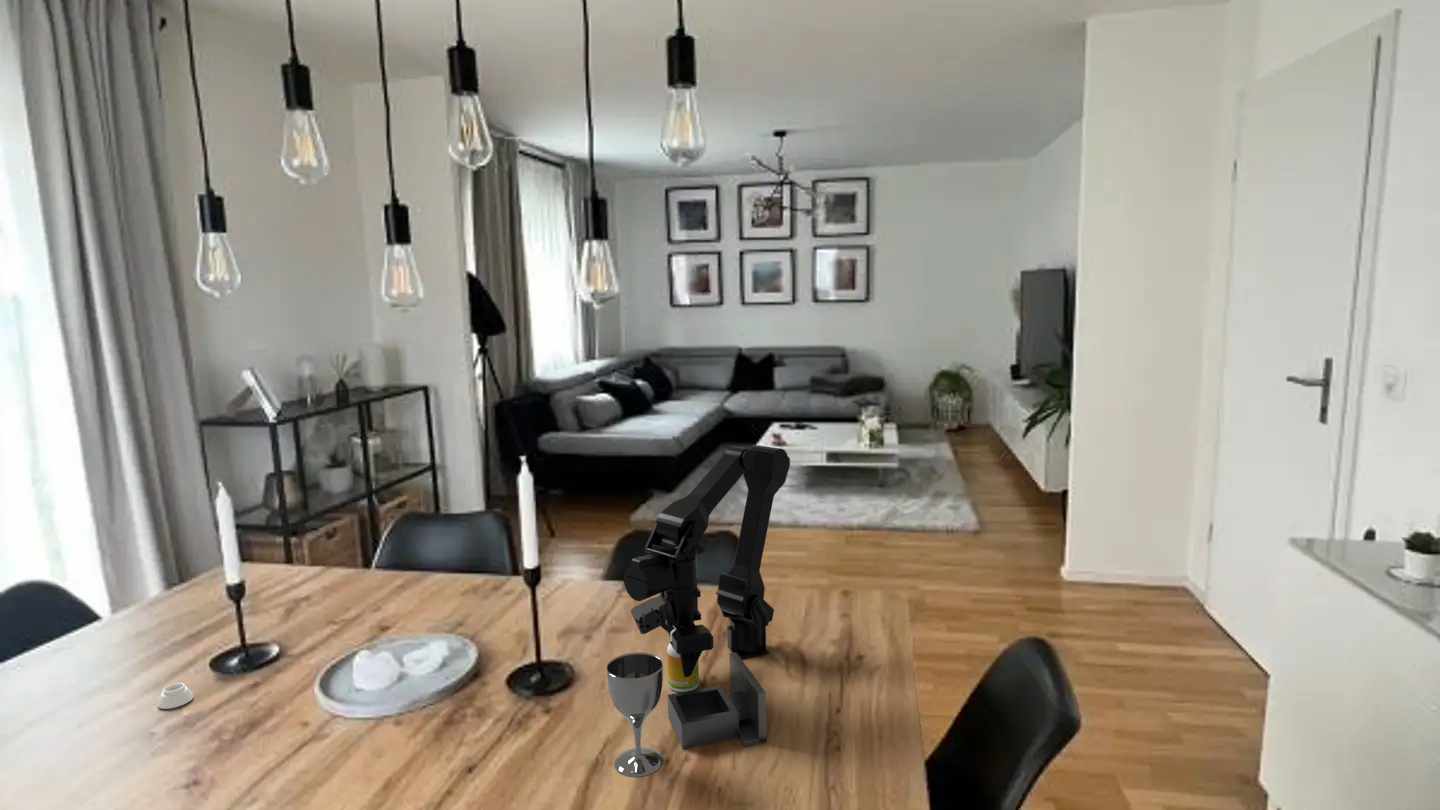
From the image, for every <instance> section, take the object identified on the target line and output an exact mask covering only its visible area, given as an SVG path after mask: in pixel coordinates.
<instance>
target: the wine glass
mask: <svg viewBox="0 0 1440 810" xmlns="http://www.w3.org/2000/svg"><path fill="white" fill-rule="evenodd" d="M663 666H664V665H663V660H662V659H661V658H660V657H659V656H657V655H655V654H653V653H648V652H629V653H624V654H621V655H618V656H616V657H614V658H613V659H611V660H610V661H609V662H608V663H607V665H606V679H607V688H608V692H609V696H610V700H611V702H612V704H613V707H614V708H615V709H616V711H617V712H618V713H620V714H621V715H622V716H623V718H626V720H628V721H629V723H630V725H631V726H632V729H633V736H634V743H635V747H634V748H629V749H627V750H625V751H623V752H621V753H620V754H619V755H617V757H616V758H615V760H614V763H613V764H614V769H615V770H616V771H617V772H618V773H619V774H620V775H622V776H625V777H631V778H639V777H645V776H649V775H651V774H654V773H655V772H657V771H658V770H659V769H661V767H662V766H663V764H664V757H663V754H661V753H660V752H659V751H658V750H656V749H654V748H651V747H642V745H641V743H642V742H641V740H642V727H643V725H644V722H645V720H646V719H647V718H648V716H650V714H651V713H653V712H652V711H654V709H655V708H656V707H657V705H659V701H660V699H661V695H662V690H663V681H664V667H663Z"/></svg>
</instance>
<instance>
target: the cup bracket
mask: <svg viewBox="0 0 1440 810" xmlns="http://www.w3.org/2000/svg"><path fill="white" fill-rule="evenodd" d="M729 685H730V686H729V690H730V691H729V693H727V692H726V691H725V689H724V687H723V686H722V685H715V686H711V687H710V686H709V687H705V688H699V689H694V690H692V691H686V692H675V693H670V694H667V712H668V716H667V717H668V721H669V722H670V724H671V727H672V729H673V732H674V733H675V735H676V738H677V739H678V743H679V744H680V747H681V748H682V750H683V749H689V748H694V747H699V746H702V745H709V744H713V743H717V742H723V741H728V740H734V739H739V741H740V742H741V744H742V746H743V747H749V746H754V745H758V744H759V745H760V744H764V743H767V693H766V691H765V689H764V688H763V686H762V685H761V684H760V682H759V681H758V680H757V679H756V678H755V676H754V674H753V673H752V671H750V669H749V667H748V666H747V665H746V663H745V662H744V660H743V658H740V657H739V655H738V654H737V653H736V652H735V653H733V652H731V653H729Z"/></svg>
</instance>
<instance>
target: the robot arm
mask: <svg viewBox="0 0 1440 810" xmlns="http://www.w3.org/2000/svg"><path fill="white" fill-rule="evenodd" d="M722 454H723V455H722V456H721V457H720V459H719V460H718V461H717V462H716V463H715V464H714V465H713V466H712V467H711V469H710V470H709V471H708V472H707V473H706V474H705V476H704V477H702V479H701V480H700V481H699V483H698V484H697V485H696V486H695V487H694V488H693V489H692V490H691V492H690V493H689V494H687V495H686V496H684V497H683V498H680V499H678V500H675V501H673V502H672V503H670V504H669V505H668V506H667V507H666V508H665V509H663V510H662V511H661V512H660V513H659V514H658V516H657V518H656V520H655V524H654V526H653V529H652V530H651V533H650V535H649V538H648V540H647V542H646V545H645V547H644V548H643V551H644V552H645V553H649V554H646V555H643V556H637V557H633V558H632V559H631V566H629V567H628V568H626V570H625V572H624V576H623V585H624V587H625V590H626V592H627V594H628V596H630V598H631V599H632V600H634V601H636V602H641V603H639V604H637V605H635V606H633V607H632V608H631V609H630V614H631V615H632V618H633V620H634V622H635V625H636V626H637V628H638V631H639V632H640V634H641V635H645V634H648V633H650V632H652V631H654V630H656V629H657V628H660V627H661V628H663V630H664V631H666V632H667V635H668V637H669V640H670V641H669V644H671V645H672V647H673V649H674V650H675V651H676V653H677V654H679V655H680V660H681V665H682V669H683V674H684V677H689V676H691V674H692V672H693V670H694V668H695V665H696V663H697V661H698V662H699V659H700V656H701V655H702V653H703V651H710V650H713V648H715V647H714V646H715V645H714V644H715V643H714V635H712V632H711V631H710V630H709V629H708V628H707V627H706V626H705V625H704V624H695V622H696V621H702V613H701V612H700V611H699V601H698V600H699V599H698V598H701V597H702V596H701V590H700V588H699V587H698V565H697V564H698V563H697V562H698V561H697V556H698V555H700V554H703V553H705V552H706V548H705V547H704V546H702V545H701V544H700V543H699V542H700V540H701V539H702V537H703V535H704V533H705V532H706V530H707V529H708V527H709V519H710V518H709V517H710V515H711V514H712V512H713V511H714V510H715V508H716V507H717V506H718V505H719V504H720V503H721V501H722V500H723V498H725V497H726V495H727V494H728V493H729V492H730V490H731V489H732V488H733V487H734V486H735V485H736V484H737V482H738V481H739V479H741V478H742V476H743V478H744V482H745V485H746V487H747V493H746V495H747V496H746V500H745V505H744V506H745V507H744V510H743V514H742V515H743V517H742V521H741V525H740V531H739V537H738V541H737V546H736V552H735V557H734V560H733V565H732V567H731V568H730V569H729V570H728V571H727V572H726V573H724V572H722V573H721V574H720V576H719V580H718V581H719V582H718V587H717V590H716V592H715V595H716V596H717V598H716V601H717V602H716V603H717V605H718V606H719V609H720V611H721V614H722V617H723V618H727V619H729V626H728V625H727V627H726V630H727V632H726V634H727V639H726V640H727V641H726V643H727V647H728V649H729V651H730V652H731V653H735V652H736V653H737V654H738V655H739V657H740V658H741V659H746V658H750V657H752V658H753V657H757V656H764V655H769V654H770V650H769V648H768V647H767V629H766V627H767V626H769V623H771V622H772V621H773V617H774V612H775V609H774V608H773V607H772V605H770V604H769V603H768V602H767V601H765V589H766V588H765V585H764V581H763V577H762V575H761V572H760V571H761V564H762V560H763V559H762V558H763V553H764V549H765V545H766V538H767V533H768V529H769V523H770V518H771V512H772V507H773V502H774V497H775V495H776V494H777V493H778V491H779V490H781V488H782V487H783V486H784V484H785V483H786V480H787V478H788V473H789V470H790V467H791V459H790V457H789V456H788V453H787V452H786V450H785V449H783V448H779V447H772V446H764V445H759V444H756V445H753V446H751V447H750V448H748V447H744V446H743V447H742V446H736V445H732V446H728V447H727V448H725V450H723V453H722ZM662 542H664V543H667V544H670V545H673V546H674V545H675V546H676V547H673V546H669V545H665V544H662ZM647 599H648V600H647ZM642 601H643V602H642ZM674 629H675V631H674V632H673V633H672V642H671V639H670V637H671V631H672V630H674Z"/></svg>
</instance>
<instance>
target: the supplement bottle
mask: <svg viewBox="0 0 1440 810" xmlns="http://www.w3.org/2000/svg"><path fill="white" fill-rule="evenodd" d="M674 631H675V629H674V630H672V631H671V637H670V638H669V640H670V639H671V641H670V642H672V633H673V632H674ZM666 657H667V658H666V659H667V685H668V687H669V688H670V690H672V691H673V692H676V693H681V692H686V691H692V690H697V688H698V687H699V684H700V672H699V671H700V668H699V666H700V665H699V660H698V661H697V663H696V665H695V668H694V670H693V672H692V674H691V676H689V677H684V674H683V669H682V665H681V660H680V655H679V654H677V653H676V651H675V650H674V649H673V647H672V645H671V644H670V643H668V645H667V647H666Z"/></svg>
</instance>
